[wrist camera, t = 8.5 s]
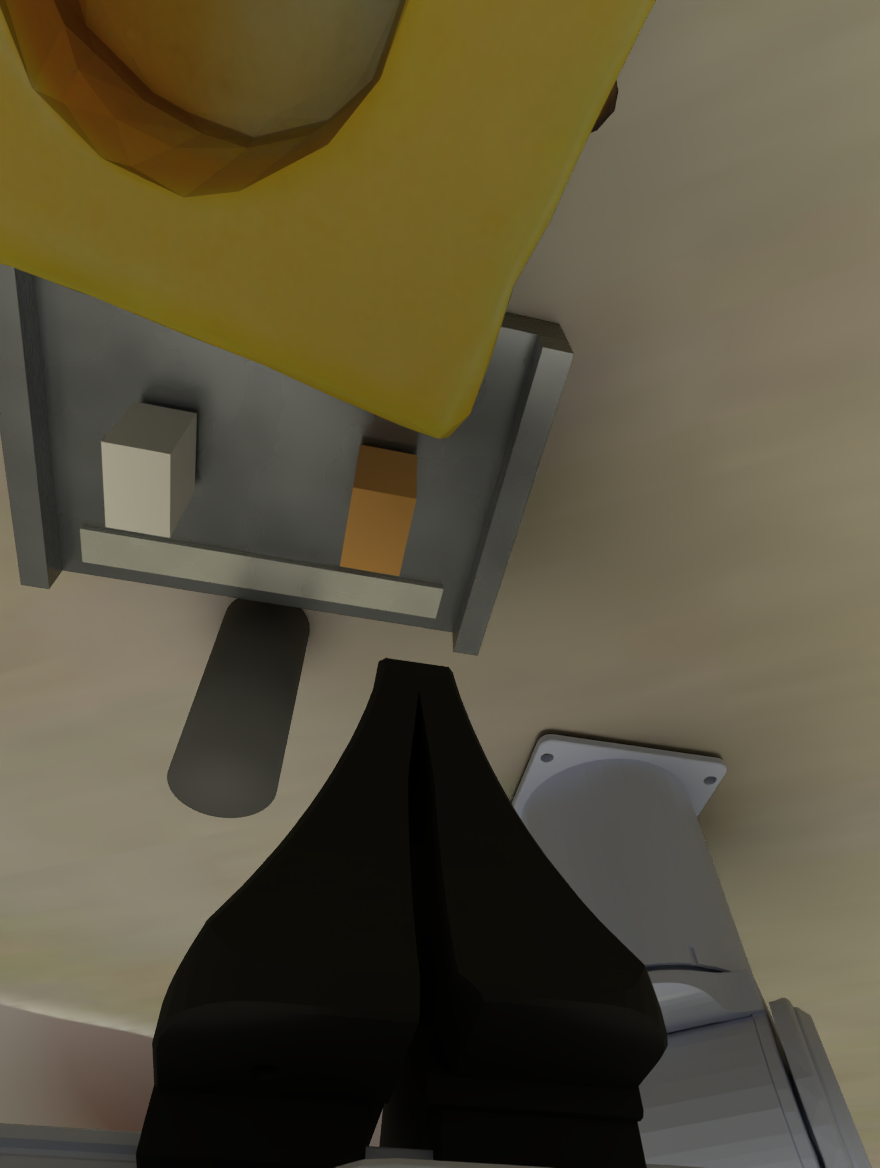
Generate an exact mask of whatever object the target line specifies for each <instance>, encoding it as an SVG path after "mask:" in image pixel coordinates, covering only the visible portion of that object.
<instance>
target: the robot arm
mask: <svg viewBox="0 0 880 1168" xmlns="http://www.w3.org/2000/svg"><path fill="white" fill-rule="evenodd" d="M543 754H548V755H543ZM726 772H727V767H726V765H725V762H724V761H723V760H722V759H720V758H715V757H708V756H701V755H694V754H687V753H680V752H673V751H666V750H659V749H652V748H645V747H638V746H631V745H624V744H617V743H610V742H603V741H596V740H589V739H582V738H575V737H568V736H561V735H554V734H547V735H544V736H542V737H541V738H539V740H538V741H537V744H536V746H535V748H534V751H533V753H532V756H531V758H530V760H529V763H528V765H527V768H526V770H525V772H524V775H523V777H522V779H521V782H520V784H519V787H518V789H517V791H516V794H515V796H514V799H513V801H512V803H511V802H510V800H509V799H508V797H507V795H506V794H505V792H504V790H503V788H502V786H501V785H500V783H499V781H498V779H497V777H496V775H495V774H494V772H493V770H492V768H491V766H490V764H489V762H488V760H487V758H486V756H485V753H484V751H483V749H482V747H481V745H480V743H479V741H478V738H477V736H476V734H475V732H474V730H473V727H472V725H471V723H470V720H469V718H468V715H467V713H466V710H465V708H464V705H463V702H462V700H461V697H460V694H459V691H458V688H457V685H456V682H455V679H454V675H453V672H452V671H451V670H450V668H449V667H444V666H437V665H430V664H423V663H416V662H409V661H402V660H395V659H388V658H385V659H383V660H381V661H379V663H378V668H377V673H376V678H375V683H374V688H373V691H372V694H371V696H370V699H369V701H368V704H367V707H366V709H365V711H364V713H363V715H362V717H361V720H360V722H359V724H358V726H357V728H356V730H355V732H354V734H353V736H352V738H351V740H350V742H349V744H348V745H347V747H346V749H345V751H344V753H343V754H342V756H341V758H340V760H339V761H338V763H337V765H336V767H335V768H334V770H333V772H332V773H331V775H330V776H329V778H328V779H327V781H326V783H325V784H324V786H323V787H322V789H321V790H320V792H319V793H318V794H317V796H316V797H315V799H314V800H313V802H312V803H311V805H310V806H309V807H308V809H307V810H306V811H305V813H304V814H303V815H302V817H301V818H300V819H299V821H298V822H297V823H296V825H295V826H294V827H293V828H292V830H291V831H290V832H289V834H288V835H287V836H286V837H285V838H284V840H283V841H282V842H281V843H280V845H279V846H278V847H277V848H276V849H275V850H274V851H273V853H272V854H271V855H270V856H269V857H268V858H267V859H266V860H265V861H264V863H263V864H262V865H261V866H260V867H259V868H258V869H257V870H256V872H255V873H254V874H253V875H252V876H251V877H250V878H249V879H248V880H247V881H246V882H245V883H244V885H243V886H242V887H241V888H240V889H239V890H238V891H236V892H235V893H234V894H233V895H232V896H231V897H230V898H229V899H228V900H227V901H226V902H225V903H224V904H223V905H222V906H221V907H220V908H219V909H218V910H217V911H216V912H215V913H214V914H213V915H212V916H211V917H210V918H209V919H208V920H207V921H206V923H205V925H204V926H203V928H202V929H201V931H200V932H199V934H198V936H197V937H196V939H195V940H194V942H193V943H192V945H191V947H190V948H189V950H188V952H187V953H186V955H185V957H184V959H183V960H182V962H181V964H180V966H179V967H178V969H177V971H176V973H175V975H174V977H173V979H172V981H171V983H170V985H169V988H168V990H167V993H166V995H165V998H164V1001H163V1003H162V1007H161V1011H160V1015H159V1019H158V1023H157V1027H156V1031H155V1034H154V1038H153V1042H152V1046H153V1067H154V1088H153V1092H152V1095H151V1099H150V1103H149V1107H148V1110H147V1114H146V1117H145V1121H144V1125H143V1129H142V1132H132V1131H116V1130H100V1129H84V1128H68V1127H51V1126H35V1125H20V1124H4V1123H0V1168H872V1167H871V1165H870V1162H869V1160H868V1157H867V1154H866V1152H865V1149H864V1147H863V1144H862V1142H861V1139H860V1137H859V1134H858V1132H857V1129H856V1127H855V1124H854V1122H853V1119H852V1117H851V1114H850V1112H849V1109H848V1107H847V1104H846V1102H845V1099H844V1097H843V1094H842V1092H841V1089H840V1087H839V1084H838V1082H837V1079H836V1077H835V1074H834V1072H833V1069H832V1067H831V1064H830V1062H829V1060H828V1057H827V1055H826V1052H825V1050H824V1047H823V1045H822V1042H821V1040H820V1037H819V1035H818V1032H817V1030H816V1027H815V1025H814V1022H813V1020H812V1017H811V1016H810V1015H809V1014H807V1013H806V1012H804V1011H802V1010H801V1009H799V1008H798V1007H793V1006H792V1004H791V1002H790V1001H789V1000H788V999H786V998H780V999H778V1000H775V1001H772V1002H769V1005H770V1008H771V1012H772V1016H773V1018H772V1016H771V1014H770V1011H769V1009H768V1007H767V1005H766V1003H765V1000H764V998H763V996H762V994H761V992H760V990H759V987H758V985H757V983H756V981H755V979H754V977H753V974H752V971H751V968H750V965H749V963H748V960H747V957H746V954H745V951H744V948H743V946H742V943H741V940H740V937H739V934H738V932H737V929H736V926H735V923H734V920H733V917H732V915H731V912H730V909H729V906H728V903H727V901H726V898H725V895H724V892H723V889H722V886H721V884H720V881H719V878H718V875H717V872H716V870H715V867H714V864H713V861H712V858H711V855H710V853H709V850H708V847H707V844H706V841H705V839H704V836H703V833H702V830H701V827H700V824H699V822H698V819H697V817H698V816H699V814H700V813H701V811H702V809H703V808H704V806H705V805H706V803H707V802H708V800H709V799H710V797H711V796H712V794H713V793H714V791H715V789H716V788H717V786H718V785H719V783H720V782H721V780H722V779H723V777H724V776H725V774H726ZM773 1019H774V1020H773ZM382 1109H383V1114H382V1125H381V1136H380V1146H379V1147H372V1146H371V1147H370V1146H369V1144H370V1141H371V1138H372V1135H373V1133H374V1130H375V1127H376V1125H377V1122H378V1120H379V1117H380V1114H381V1112H382Z"/></svg>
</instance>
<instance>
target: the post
mask: <svg viewBox="0 0 880 1168" xmlns="http://www.w3.org/2000/svg"><path fill="white" fill-rule="evenodd" d="M309 630H310V628H309V622H308V619H307V617H306V615H305V614H304V612H303V611H302V610H301V608H297V607H291V606H284V605H278V604H272V603H265V602H259V601H253V600H246V599H240V598H238V599H236V600H235V601H234V602H233V603H232V604H231V605H230V606H229V607H228V609H227V611H226V613H225V616H224V619H223V621H222V624H221V627H220V630H219V632H218V635H217V638H216V641H215V643H214V646H213V649H212V652H211V654H210V657H209V660H208V663H207V665H206V668H205V671H204V674H203V676H202V679H201V682H200V685H199V687H198V690H197V693H196V696H195V698H194V701H193V704H192V706H191V709H190V712H189V715H188V717H187V720H186V723H185V726H184V728H183V731H182V734H181V737H180V739H179V742H178V745H177V748H176V750H175V753H174V756H173V759H172V761H171V764H170V767H169V770H168V774H167V780H168V784H169V787H170V789H171V791H172V792H173V794H174V795H175V796H176V797H177V798H178V799H179V800H180V801H181V802H182V803H183V804H185V805H186V806H188V807H190V808H192V809H193V810H196V811H198V812H200V813H203V814H206V815H210V816H215V817H222V818H238V817H245V816H249V815H253V814H255V813H258V812H260V811H262V810H264V809H265V808H266V807H268V806H269V805H270V804H271V802H272V801H273V800H274V798H275V796H276V792H277V788H278V783H279V778H280V773H281V768H282V763H283V758H284V754H285V749H286V744H287V739H288V734H289V729H290V724H291V720H292V715H293V710H294V705H295V700H296V695H297V690H298V686H299V681H300V676H301V671H302V666H303V661H304V656H305V652H306V647H307V642H308V637H309Z"/></svg>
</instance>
